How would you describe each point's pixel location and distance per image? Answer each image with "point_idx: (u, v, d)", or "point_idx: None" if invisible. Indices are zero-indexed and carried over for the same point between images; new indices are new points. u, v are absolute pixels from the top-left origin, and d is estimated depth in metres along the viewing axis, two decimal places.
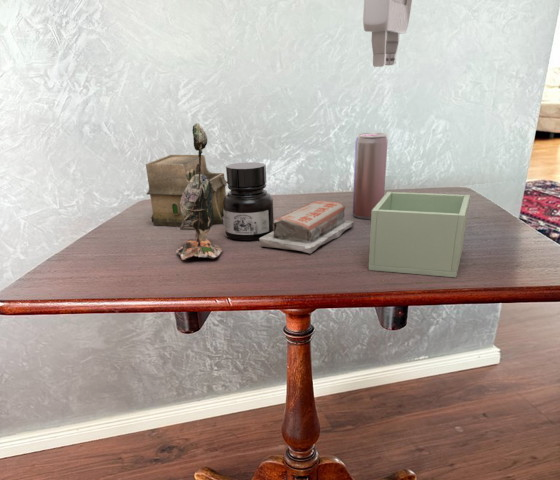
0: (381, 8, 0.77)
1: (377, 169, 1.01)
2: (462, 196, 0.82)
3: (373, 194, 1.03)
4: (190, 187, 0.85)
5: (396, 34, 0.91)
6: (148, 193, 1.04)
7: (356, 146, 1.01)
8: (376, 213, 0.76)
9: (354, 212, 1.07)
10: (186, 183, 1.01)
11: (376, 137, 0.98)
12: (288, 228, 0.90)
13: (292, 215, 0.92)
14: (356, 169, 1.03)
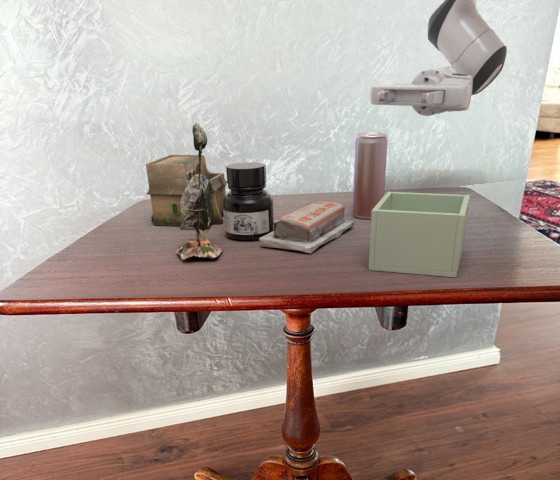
0: None
1: (377, 169, 1.01)
2: (462, 196, 0.82)
3: (373, 194, 1.03)
4: (190, 187, 0.85)
5: None
6: (148, 193, 1.04)
7: (356, 146, 1.01)
8: (376, 213, 0.76)
9: (354, 212, 1.07)
10: (186, 183, 1.01)
11: (376, 137, 0.98)
12: (288, 228, 0.90)
13: (292, 215, 0.92)
14: (356, 169, 1.03)
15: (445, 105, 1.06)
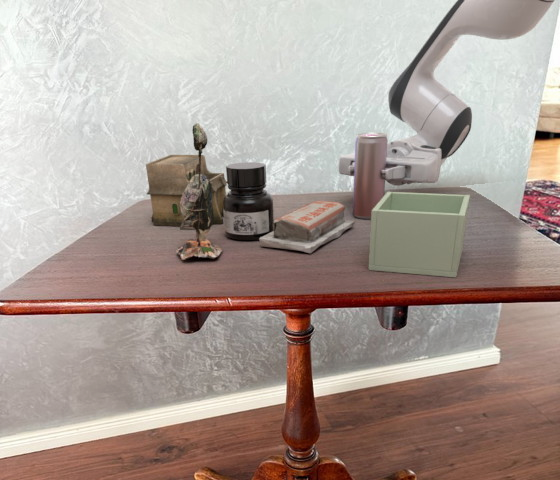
0: None
1: (377, 169, 1.01)
2: (462, 196, 0.82)
3: (373, 194, 1.03)
4: (190, 187, 0.85)
5: None
6: (148, 193, 1.04)
7: (356, 146, 1.01)
8: (376, 213, 0.76)
9: (354, 212, 1.07)
10: (186, 183, 1.01)
11: (376, 137, 0.98)
12: (288, 228, 0.90)
13: (292, 215, 0.92)
14: (356, 169, 1.03)
15: (411, 180, 1.04)
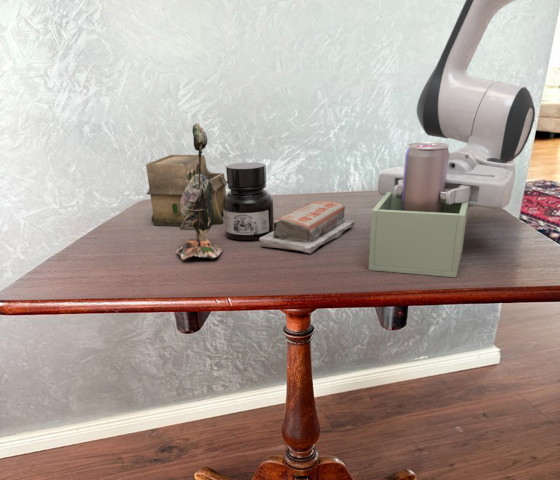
0: None
1: (435, 191, 0.76)
2: None
3: None
4: (190, 187, 0.85)
5: None
6: (148, 193, 1.04)
7: (407, 160, 0.76)
8: (376, 213, 0.76)
9: None
10: (186, 183, 1.01)
11: (436, 149, 0.73)
12: (288, 228, 0.90)
13: (292, 215, 0.92)
14: (406, 190, 0.78)
15: (478, 205, 0.79)
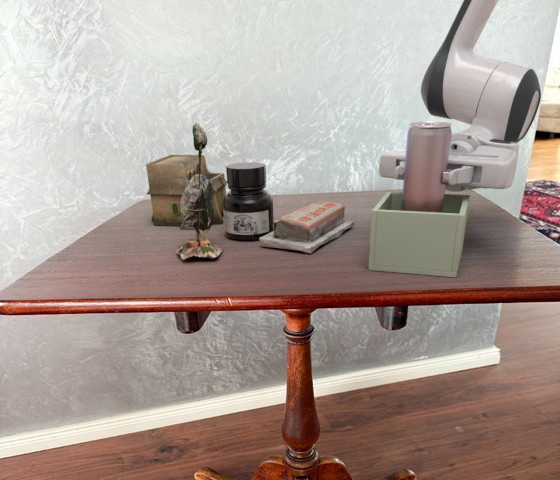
0: None
1: (437, 171, 0.75)
2: (462, 196, 0.82)
3: (430, 205, 0.77)
4: (190, 187, 0.85)
5: None
6: (148, 193, 1.04)
7: (409, 140, 0.75)
8: (376, 213, 0.76)
9: None
10: (186, 183, 1.01)
11: (438, 127, 0.72)
12: (288, 228, 0.90)
13: (292, 215, 0.92)
14: (408, 171, 0.76)
15: (481, 186, 0.77)
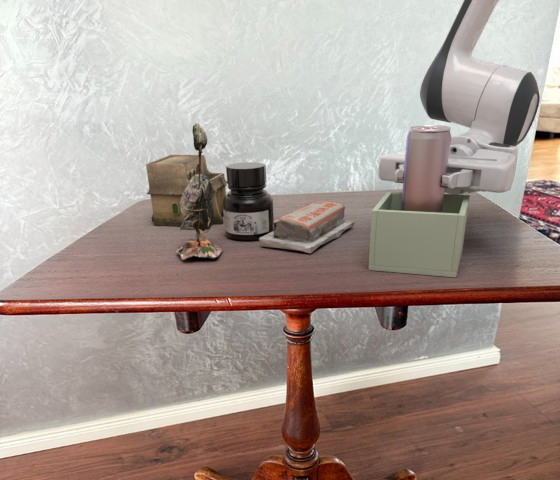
0: None
1: (436, 175, 0.75)
2: (462, 196, 0.82)
3: (429, 208, 0.77)
4: (190, 187, 0.85)
5: None
6: (148, 193, 1.04)
7: (408, 143, 0.75)
8: (376, 213, 0.76)
9: None
10: (186, 183, 1.01)
11: (437, 131, 0.72)
12: (288, 228, 0.90)
13: (292, 215, 0.92)
14: (407, 174, 0.77)
15: (480, 189, 0.77)
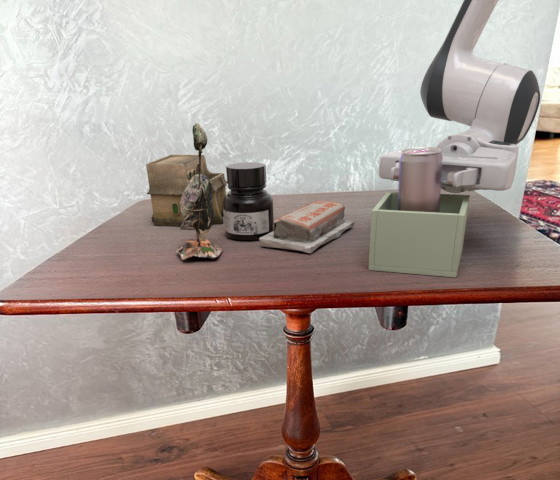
0: None
1: (429, 196, 0.76)
2: (462, 196, 0.82)
3: None
4: (190, 187, 0.85)
5: None
6: (148, 193, 1.04)
7: (401, 166, 0.77)
8: (376, 213, 0.76)
9: None
10: (186, 183, 1.01)
11: (428, 154, 0.74)
12: (288, 228, 0.90)
13: (292, 215, 0.92)
14: (401, 196, 0.78)
15: (481, 187, 0.77)
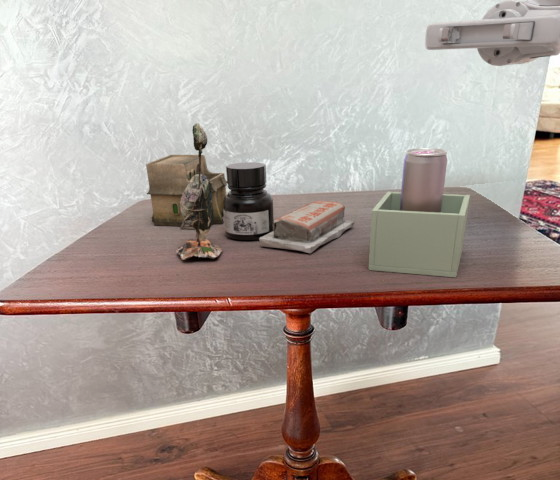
0: None
1: (431, 198, 0.76)
2: (462, 196, 0.82)
3: None
4: (190, 187, 0.85)
5: None
6: (148, 193, 1.04)
7: (405, 166, 0.77)
8: (376, 213, 0.76)
9: None
10: (186, 183, 1.01)
11: (432, 155, 0.74)
12: (288, 228, 0.90)
13: (292, 215, 0.92)
14: (403, 196, 0.78)
15: (533, 43, 0.77)
